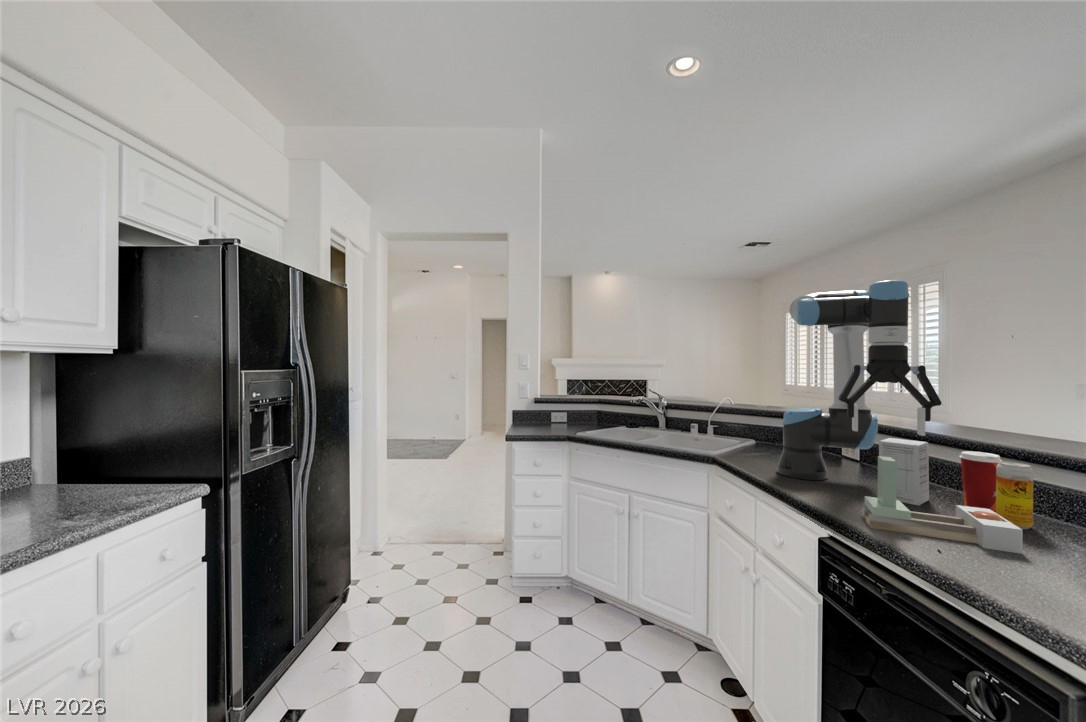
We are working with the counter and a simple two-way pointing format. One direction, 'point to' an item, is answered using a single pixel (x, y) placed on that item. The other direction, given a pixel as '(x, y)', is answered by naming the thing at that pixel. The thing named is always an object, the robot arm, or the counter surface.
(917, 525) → the rail track
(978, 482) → the coffee cup
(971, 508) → the white rectangular block
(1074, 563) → the counter surface
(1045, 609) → the counter surface
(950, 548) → the counter surface
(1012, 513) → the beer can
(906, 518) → the stand
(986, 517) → the button
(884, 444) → the supplement box
